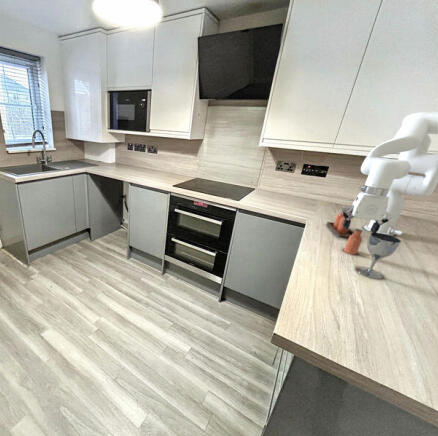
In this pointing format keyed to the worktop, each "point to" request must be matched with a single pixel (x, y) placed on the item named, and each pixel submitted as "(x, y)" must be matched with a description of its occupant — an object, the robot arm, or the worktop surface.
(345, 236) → the tray
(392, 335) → the worktop surface
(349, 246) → the loose bottle
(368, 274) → the wine glass
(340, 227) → the tray bottle
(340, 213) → the tray bottle
